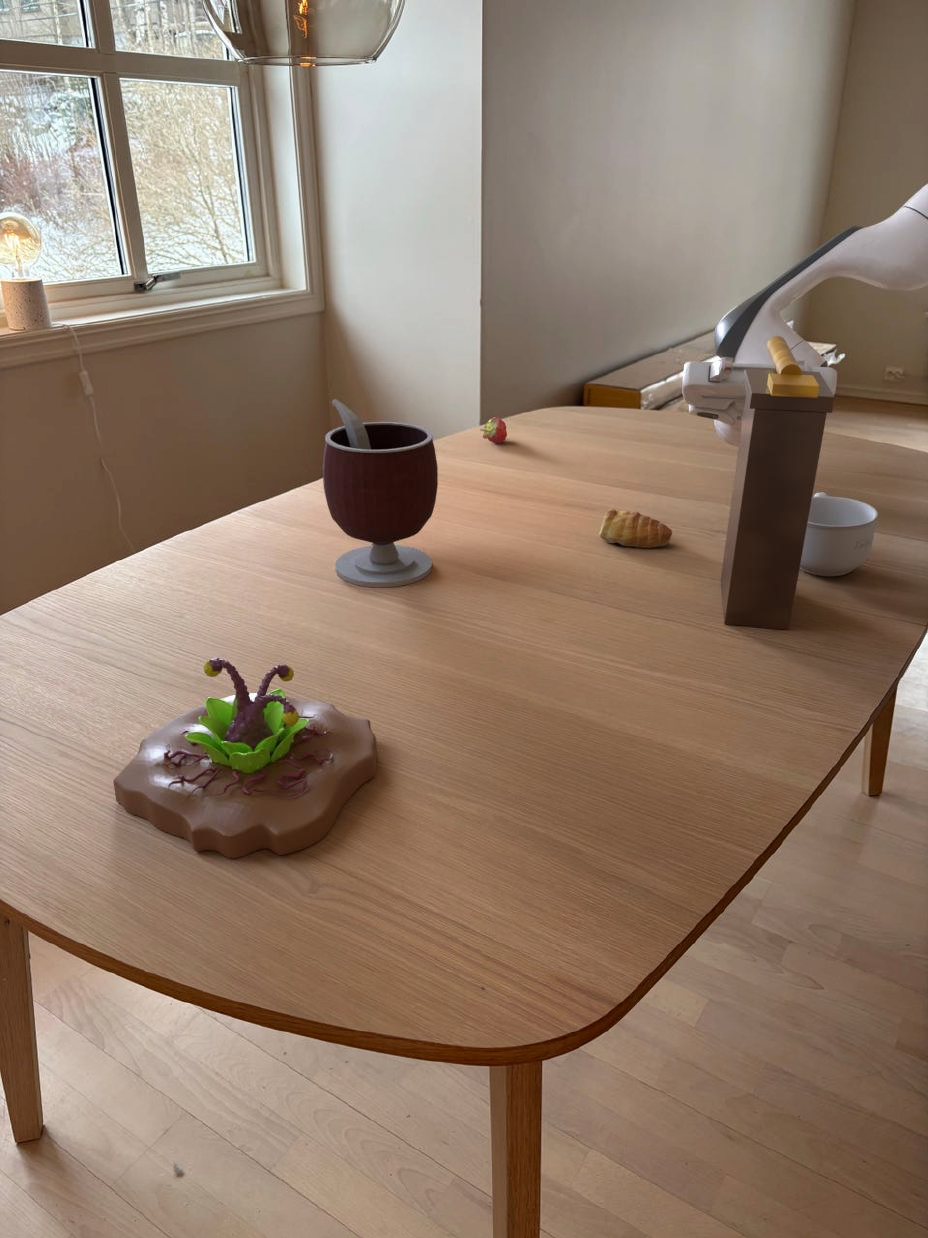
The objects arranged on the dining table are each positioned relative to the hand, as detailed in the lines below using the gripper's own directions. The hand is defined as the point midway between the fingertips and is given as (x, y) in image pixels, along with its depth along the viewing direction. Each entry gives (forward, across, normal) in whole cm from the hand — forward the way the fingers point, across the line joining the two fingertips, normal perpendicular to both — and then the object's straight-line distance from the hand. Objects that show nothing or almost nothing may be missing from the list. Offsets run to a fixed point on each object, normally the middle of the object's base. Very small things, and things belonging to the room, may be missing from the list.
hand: (764, 364), depth 123 cm
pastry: (-5, +15, -24) cm, 28 cm away
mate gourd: (+9, +46, -32) cm, 56 cm away
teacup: (-3, -10, -25) cm, 27 cm away
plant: (+49, +44, -55) cm, 85 cm away
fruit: (-42, +41, -2) cm, 59 cm away
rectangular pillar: (+10, 0, -32) cm, 34 cm away
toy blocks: (+21, 0, -8) cm, 22 cm away
